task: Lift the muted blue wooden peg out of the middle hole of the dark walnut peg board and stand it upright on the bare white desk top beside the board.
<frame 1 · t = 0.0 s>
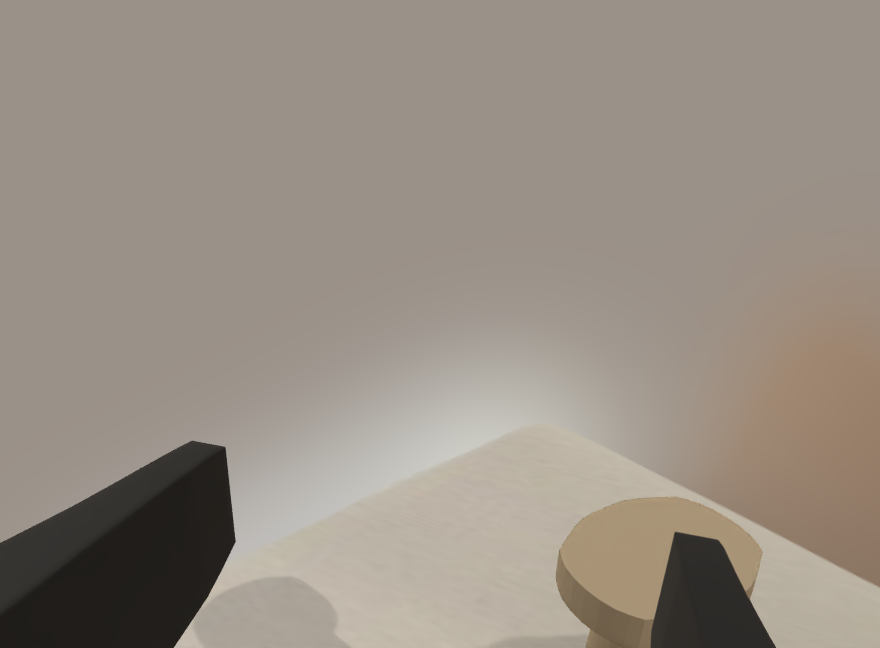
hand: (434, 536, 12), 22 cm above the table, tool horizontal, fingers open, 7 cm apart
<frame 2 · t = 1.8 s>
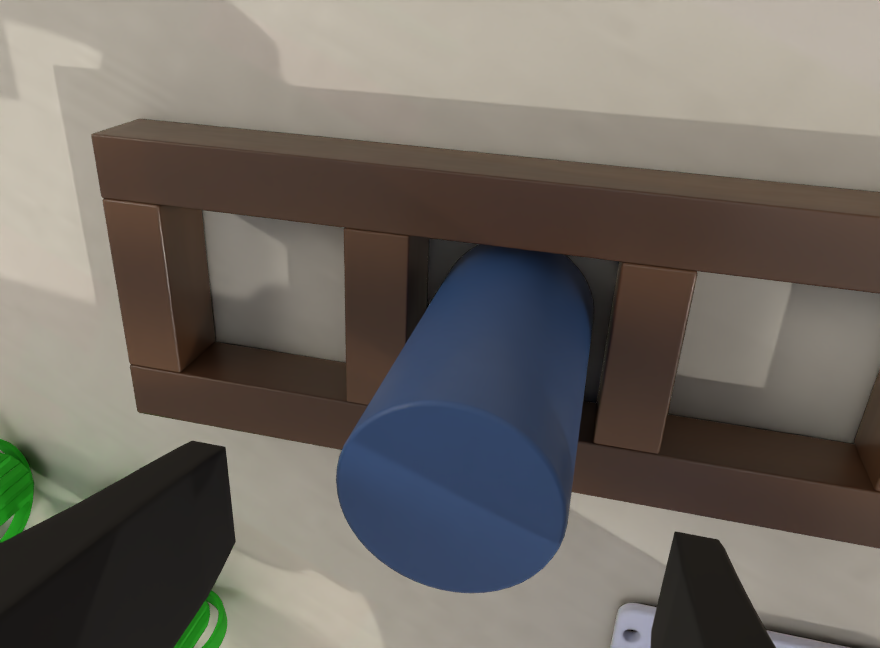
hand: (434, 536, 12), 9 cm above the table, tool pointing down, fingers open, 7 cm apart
chandelier: (77, 575, 29), on the table
peg: (489, 385, 16), in a hole of the peg board
peg board: (516, 309, 19), on the table
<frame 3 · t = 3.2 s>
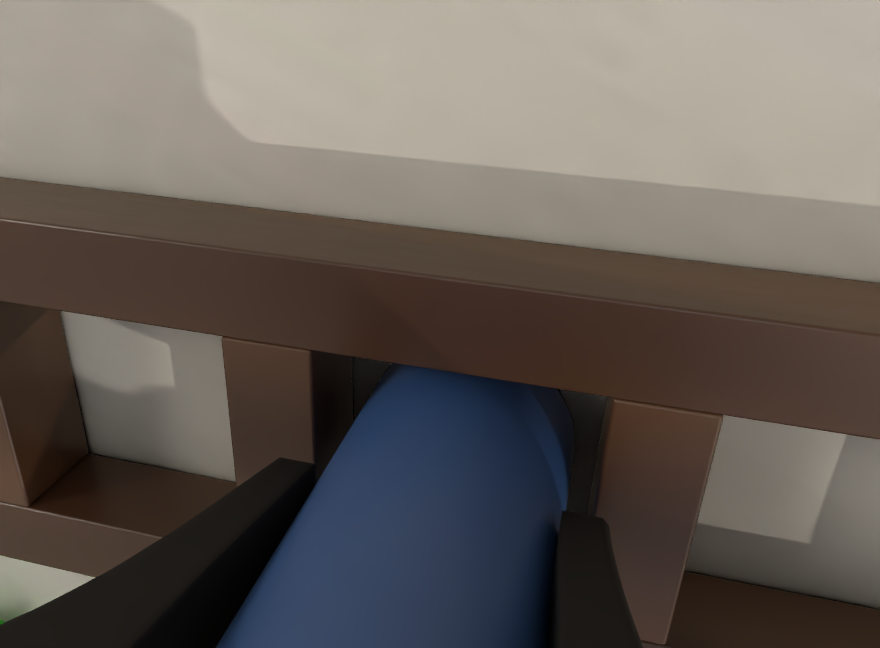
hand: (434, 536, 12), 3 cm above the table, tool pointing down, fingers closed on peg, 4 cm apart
peg: (416, 581, 11), in a hole of the peg board, touching gripper
peg board: (471, 430, 14), on the table
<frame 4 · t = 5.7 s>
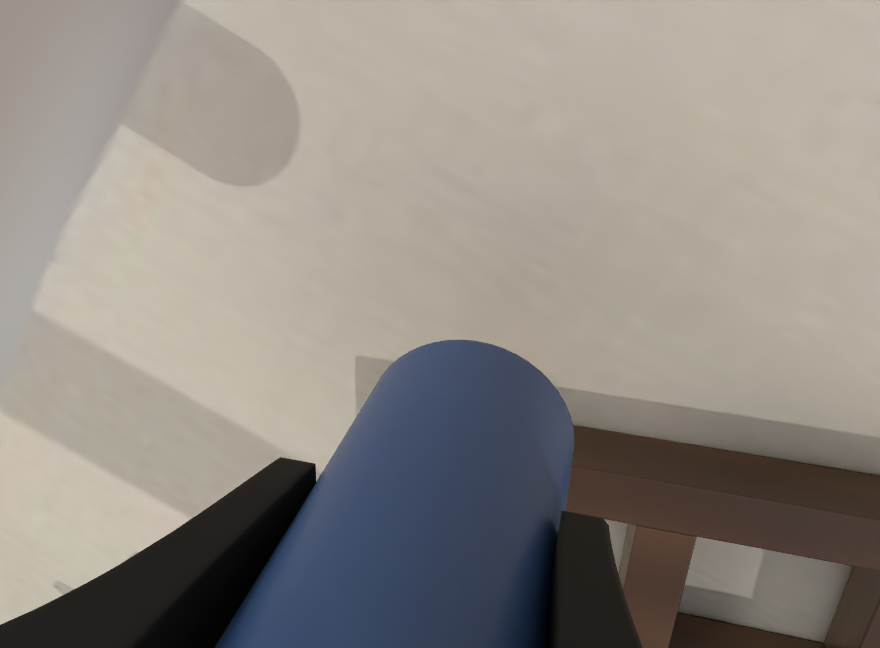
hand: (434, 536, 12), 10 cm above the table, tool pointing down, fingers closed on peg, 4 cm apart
peg: (415, 581, 11), point 11 cm above the table, touching gripper
peg board: (759, 568, 22), on the table
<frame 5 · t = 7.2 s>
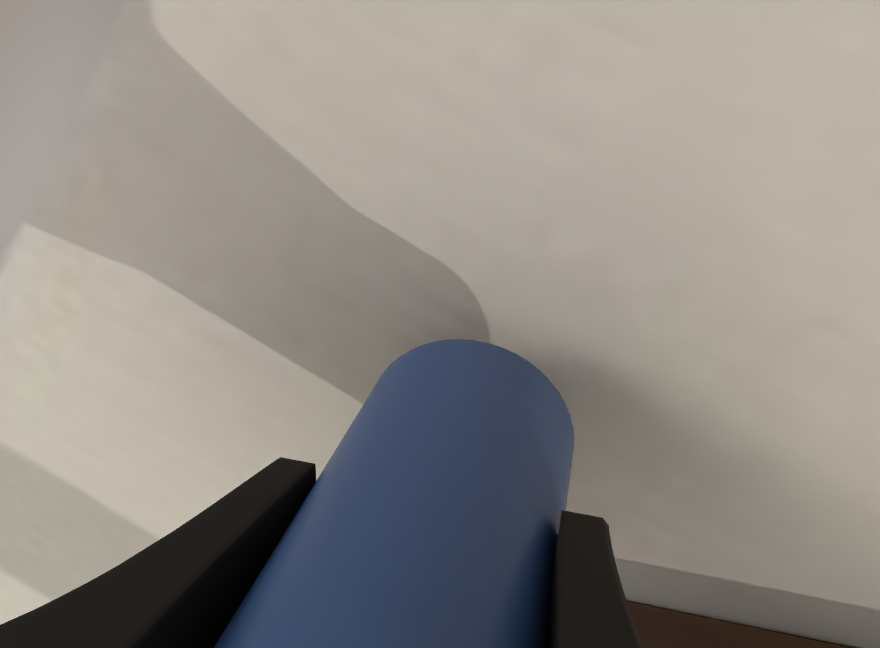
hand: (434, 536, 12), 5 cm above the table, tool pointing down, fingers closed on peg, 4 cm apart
peg: (415, 581, 11), point 6 cm above the table, touching gripper
when the fingers open (3 cm above the table, at t = 8.2 s): peg stays where it is, on the table.
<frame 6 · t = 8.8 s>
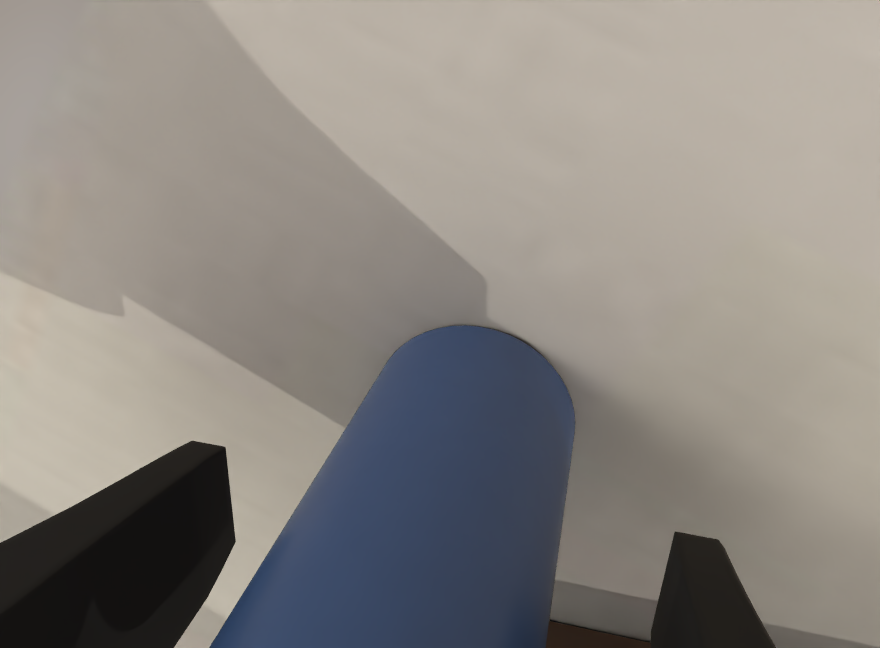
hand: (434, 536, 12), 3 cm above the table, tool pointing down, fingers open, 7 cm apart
peg: (421, 556, 11), on the table
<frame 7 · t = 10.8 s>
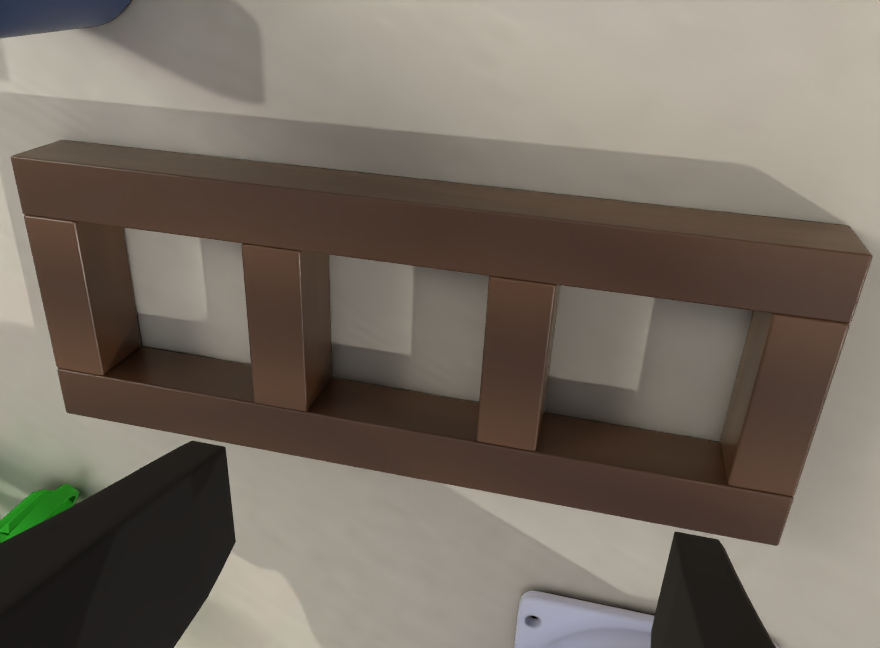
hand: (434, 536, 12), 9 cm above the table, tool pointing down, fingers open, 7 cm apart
chandelier: (26, 567, 30), on the table
peg board: (411, 317, 21), on the table
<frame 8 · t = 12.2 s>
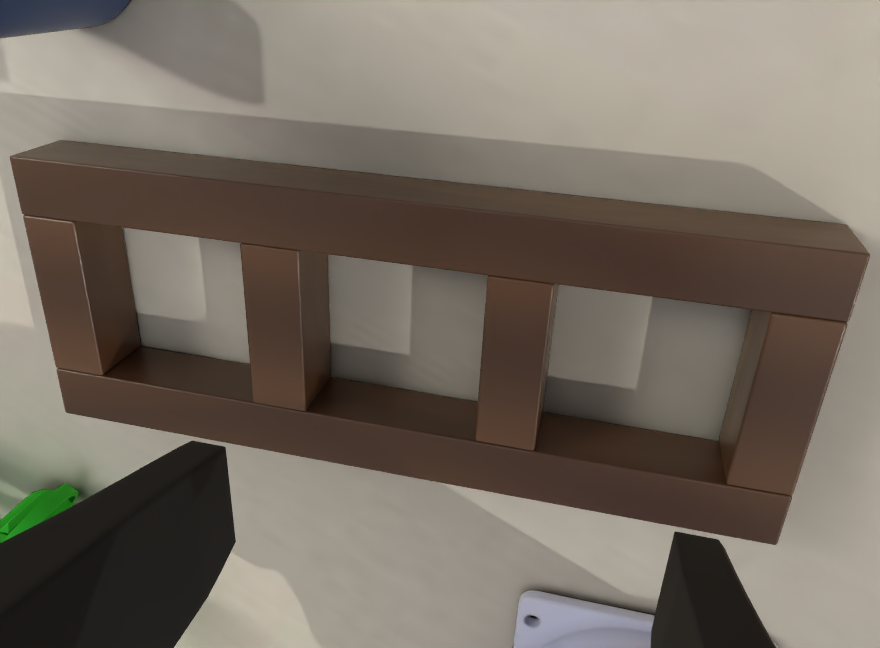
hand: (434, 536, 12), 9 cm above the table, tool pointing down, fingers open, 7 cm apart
chandelier: (26, 567, 31), on the table
peg board: (410, 316, 21), on the table
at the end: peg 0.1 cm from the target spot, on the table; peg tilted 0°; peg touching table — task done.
